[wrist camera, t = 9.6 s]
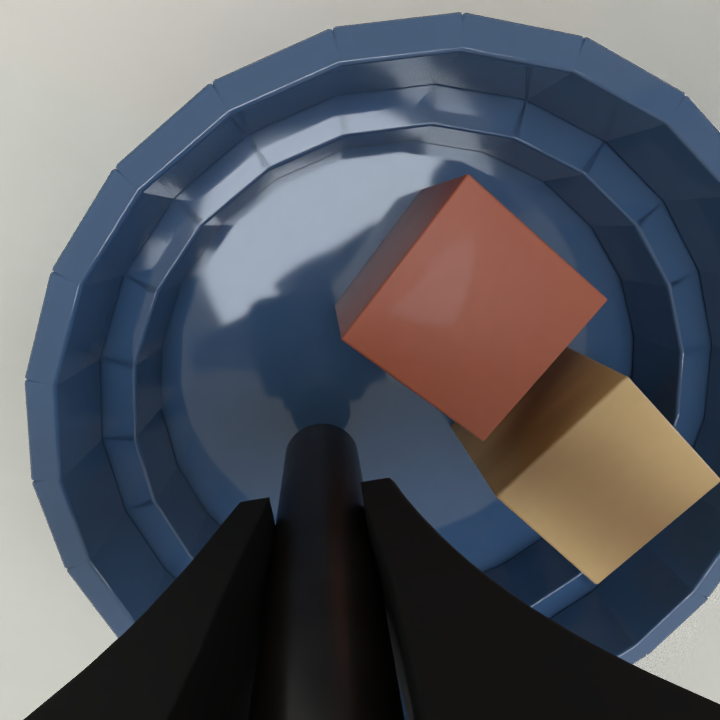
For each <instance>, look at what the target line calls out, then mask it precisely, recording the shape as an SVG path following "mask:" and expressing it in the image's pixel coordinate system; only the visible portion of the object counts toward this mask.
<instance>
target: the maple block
mask: <svg viewBox="0 0 720 720" xmlns="http://www.w3.org/2000/svg"><path fill="white" fill-rule="evenodd" d="M451 428H452V430H453V431H454V433H455V435H456V436H457V438H458V439H459V441H460V442H461V444H462V445H463V447H464V448H465V450H466V451H467V453H468V454H469V456H470V457H471V459H472V461H473V462H474V464H475V465H476V467H477V468H478V470H479V471H480V473H481V474H482V476H483V477H484V479H485V480H486V482H487V484H488V485H489V487H490V488H491V490H492V491H493V493H494V494H495V496H496V497H497V498H498V499H499V500H500V501H501V502H502V503H503V504H505V505H506V506H507V507H508V508H509V509H510V510H511V511H513V512H514V513H515V514H516V515H517V516H518V517H519V518H520V519H522V520H523V521H524V522H525V523H526V524H527V525H528V526H530V527H531V528H532V529H533V530H534V531H535V532H536V533H538V534H539V535H540V536H541V537H542V538H543V539H544V540H546V541H547V542H548V543H549V544H550V545H551V546H552V547H553V548H555V549H556V550H557V551H558V552H559V553H560V554H561V555H563V556H564V557H565V558H566V559H567V560H568V561H569V562H571V563H572V564H573V565H574V566H575V567H576V568H577V569H578V570H580V571H581V572H582V573H583V574H584V575H585V576H586V577H588V578H589V579H590V580H591V581H592V582H593V583H595V584H599V583H600V582H601V581H602V580H603V579H605V578H606V577H607V576H608V575H609V574H611V573H612V572H613V571H614V570H615V569H617V568H618V567H619V566H620V565H621V564H623V563H624V562H625V561H626V560H627V559H628V558H630V557H631V556H632V555H633V554H634V553H636V552H637V551H638V550H639V549H640V548H642V547H643V546H644V545H645V544H646V543H648V542H649V541H650V540H651V539H652V538H654V537H655V536H656V535H657V534H658V533H660V532H661V531H662V530H663V529H664V528H665V527H667V526H668V525H669V524H670V523H671V522H673V521H674V520H675V519H676V518H677V517H679V516H680V515H681V514H682V513H683V512H685V511H686V510H687V509H688V508H689V507H691V506H692V505H693V504H694V503H695V502H696V501H698V500H699V499H700V498H701V497H702V496H704V495H705V494H706V493H707V492H708V491H710V490H711V489H712V488H713V487H714V486H716V485H717V484H718V483H719V482H720V478H719V477H718V476H717V475H716V473H715V472H714V471H713V470H712V469H711V468H710V467H709V466H708V465H707V463H706V462H705V461H704V460H703V459H702V458H701V457H700V456H699V455H698V453H697V452H696V451H695V450H694V449H693V448H692V447H691V446H690V445H689V444H688V442H687V441H686V440H685V439H684V438H683V437H682V436H681V435H680V434H679V432H678V431H677V430H676V429H675V428H674V427H673V426H672V425H671V424H670V422H669V421H668V420H667V419H666V418H665V417H664V416H663V415H662V414H661V412H660V411H659V410H658V409H657V408H656V407H655V406H654V405H653V404H652V403H651V401H650V400H649V399H648V398H647V397H646V396H645V395H644V394H643V393H642V391H641V390H640V389H639V388H638V387H637V386H636V385H635V384H634V383H633V381H632V380H631V379H630V378H629V377H627V376H625V375H623V374H621V373H619V372H617V371H615V370H613V369H611V368H609V367H607V366H605V365H603V364H601V363H599V362H597V361H595V360H593V359H591V358H589V357H587V356H585V355H583V354H581V353H579V352H577V351H575V350H573V349H571V348H568V347H566V348H565V349H564V350H563V352H562V353H561V354H560V355H559V356H558V357H557V358H556V360H555V361H554V362H553V363H552V364H551V365H550V366H549V367H548V369H547V370H546V371H545V372H544V373H543V374H542V375H541V377H540V378H539V379H538V380H537V381H536V382H535V383H534V385H533V386H532V387H531V388H530V389H529V390H528V391H527V393H526V394H525V395H524V396H523V397H522V398H521V399H520V401H519V402H518V403H517V404H516V405H515V406H514V407H513V408H512V410H511V411H510V412H509V413H508V414H507V415H506V416H505V418H504V419H503V420H502V421H501V422H500V423H499V424H498V426H497V427H496V428H495V429H494V430H493V431H492V432H491V434H490V435H489V436H488V437H487V438H486V439H485V440H484V441H482V440H480V439H478V438H477V437H476V436H474V435H473V434H472V433H470V432H469V431H467V430H466V429H465V428H463V427H462V426H460V425H459V424H458V423H456V422H454V423H453V424H452V425H451Z"/></svg>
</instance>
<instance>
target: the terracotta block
mask: <svg viewBox="0 0 720 720" xmlns="http://www.w3.org/2000/svg"><path fill="white" fill-rule="evenodd" d="M606 301H607V298H606V297H605V296H604V295H603V294H601V293H600V292H599V291H598V290H597V289H596V288H595V287H594V286H593V285H591V284H590V283H589V282H588V281H587V280H586V279H585V278H584V277H583V276H581V275H580V274H579V273H578V272H577V271H576V270H575V269H574V268H573V267H571V266H570V265H569V264H568V263H567V262H566V261H565V260H564V259H563V258H561V257H560V256H559V255H558V254H557V253H556V252H555V251H554V250H553V249H552V248H550V247H549V246H548V245H547V244H546V243H545V242H544V241H543V240H542V239H540V238H539V237H538V236H537V235H536V234H535V233H534V232H533V231H532V230H530V229H529V228H528V227H527V226H526V225H525V224H524V223H523V222H522V221H520V220H519V219H518V218H517V217H516V216H515V215H514V214H513V213H512V212H510V211H509V210H508V209H507V208H506V207H505V206H504V205H503V204H502V203H500V202H499V201H498V200H497V199H496V198H495V197H494V196H493V195H492V194H491V193H489V192H488V191H487V190H486V189H485V188H484V187H483V186H482V185H481V184H479V183H478V182H477V181H476V180H475V179H474V178H473V177H472V176H471V175H469V174H466V175H463V176H460V177H457V178H454V179H451V180H449V181H446V182H443V183H440V184H437V185H434V186H431V187H428V188H425V189H422V190H421V191H420V193H419V194H418V195H417V197H416V198H415V199H414V201H413V202H412V203H411V205H410V206H409V207H408V209H407V210H406V211H405V213H404V214H403V215H402V217H401V218H400V219H399V221H398V222H397V223H396V225H395V226H394V227H393V229H392V230H391V231H390V233H389V234H388V235H387V237H386V238H385V239H384V241H383V242H382V243H381V245H380V246H379V247H378V249H377V250H376V251H375V253H374V254H373V255H372V257H371V258H370V259H369V261H368V262H367V263H366V264H365V266H364V267H363V268H362V270H361V271H360V272H359V274H358V275H357V276H356V278H355V279H354V280H353V282H352V283H351V284H350V286H349V287H348V288H347V290H346V291H345V292H344V294H343V295H342V296H341V298H340V299H339V300H338V302H337V303H336V304H335V309H336V314H337V319H338V324H339V329H340V334H341V339H342V341H344V342H345V343H347V344H348V345H349V346H351V347H352V348H354V349H355V350H356V351H358V352H359V353H360V354H362V355H363V356H365V357H366V358H367V359H369V360H370V361H372V362H373V363H374V364H376V365H377V366H378V367H380V368H381V369H383V370H384V371H385V372H387V373H388V374H390V375H391V376H392V377H394V378H395V379H397V380H398V381H399V382H401V383H402V384H403V385H405V386H406V387H408V388H409V389H410V390H412V391H413V392H415V393H416V394H417V395H419V396H420V397H422V398H423V399H424V400H426V401H427V402H428V403H430V404H431V405H433V406H434V407H435V408H437V409H438V410H440V411H441V412H442V413H444V414H445V415H447V416H448V417H449V418H451V419H452V420H453V421H455V422H456V423H458V424H459V425H460V426H462V427H463V428H465V429H466V430H467V431H469V432H470V433H472V434H473V435H474V436H476V437H477V438H478V439H480V440H482V441H484V440H485V439H486V438H487V437H488V436H489V435H490V434H491V432H492V431H493V430H494V429H495V428H496V427H497V426H498V424H499V423H500V422H501V421H502V420H503V419H504V418H505V416H506V415H507V414H508V413H509V412H510V411H511V410H512V408H513V407H514V406H515V405H516V404H517V403H518V402H519V401H520V399H521V398H522V397H523V396H524V395H525V394H526V393H527V391H528V390H529V389H530V388H531V387H532V386H533V385H534V383H535V382H536V381H537V380H538V379H539V378H540V377H541V375H542V374H543V373H544V372H545V371H546V370H547V369H548V367H549V366H550V365H551V364H552V363H553V362H554V361H555V360H556V358H557V357H558V356H559V355H560V354H561V353H562V352H563V350H564V349H565V348H566V347H567V346H568V345H569V344H570V342H571V341H572V340H573V339H574V338H575V337H576V336H577V334H578V333H579V332H580V331H581V330H582V329H583V328H584V326H585V325H586V324H587V323H588V322H589V321H590V320H591V319H592V317H593V316H594V315H595V314H596V313H597V312H598V311H599V309H600V308H601V307H602V306H603V305H604V304H605V303H606Z"/></svg>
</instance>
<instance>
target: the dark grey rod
mask: <svg viewBox="0 0 720 720" xmlns="http://www.w3.org/2000/svg"><path fill="white" fill-rule="evenodd" d="M360 482H363V478H362V473H361V467H360V461H359V456H358V450H357V446H356V444H355V442H354V440H353V438H352V437H351V436H350V435H349V434H348V433H347V432H346V431H345V430H343V429H341V428H340V427H337V426H335V425H331V424H314V425H310V426H307V427H305V428H303V429H302V430H300V431H299V432H297V433H296V434H295V435H294V436H293V437H292V439H291V440H290V442H289V444H288V446H287V449H286V454H285V461H284V468H283V475H282V482H281V489H280V497H279V504H278V511H277V518H276V525H275V532H274V540H273V547H272V554H271V561H270V568H269V575H268V582H267V589H266V596H265V603H264V610H263V617H262V624H261V631H260V639H259V646H258V653H257V660H256V667H255V674H254V681H253V688H252V695H251V702H250V709H249V717H248V720H405V718H404V713H403V707H402V701H401V696H400V690H399V684H398V678H397V673H396V667H395V661H394V656H393V650H392V644H391V638H390V633H389V627H388V621H387V616H386V610H385V604H384V598H383V593H382V587H381V583H380V578H379V574H378V570H377V566H376V562H375V558H374V554H373V551H372V547H371V543H370V539H369V534H368V528H367V521H366V515H365V509H364V503H363V496H362V489H361V483H360Z"/></svg>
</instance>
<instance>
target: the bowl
mask: <svg viewBox="0 0 720 720" xmlns="http://www.w3.org/2000/svg"><path fill="white" fill-rule="evenodd" d="M684 95H685V94H684V92H682V91H680V90H678V89H677V88H675V87H673V86H671V85H670V84H668V83H666V82H664V81H663V80H661V79H659V78H657V77H656V76H654V75H652V74H650V73H649V72H647V71H645V70H643V69H642V68H640V67H638V66H636V65H635V64H633V63H631V62H629V61H628V60H626V59H624V58H622V57H621V56H619V55H617V54H615V53H614V52H612V51H610V50H608V49H607V48H605V47H603V46H602V45H600V44H598V43H596V42H595V41H593V40H591V39H589V38H584V39H583V37H582V36H579V35H574V34H569V33H564V32H559V31H554V30H549V29H544V28H539V27H534V26H529V25H524V24H519V23H514V22H509V21H504V20H499V19H494V18H489V17H484V16H479V15H474V14H469V13H464V14H463V15H462V13H459V12H457V13H449V14H440V15H432V16H423V17H415V18H406V19H397V20H389V21H380V22H372V23H363V24H355V25H346V26H337V27H335V28H333V31H332V30H331V29H327V30H325V31H323V32H321V33H318V34H316V35H314V36H312V37H309V38H307V39H305V40H303V41H301V42H298V43H296V44H294V45H292V46H289V47H287V48H285V49H283V50H280V51H278V52H276V53H274V54H271V55H269V56H267V57H265V58H263V59H260V60H258V61H256V62H254V63H251V64H249V65H247V66H245V67H242V68H240V69H238V70H236V71H234V72H231V73H229V74H227V75H225V76H222V77H220V78H218V79H216V80H214V81H213V85H212V84H208V85H207V86H205V87H204V88H203V89H202V90H201V91H200V92H199V93H197V94H196V95H195V96H194V97H193V98H192V99H191V100H190V101H188V102H187V103H186V104H185V105H184V106H183V107H182V108H180V109H179V110H178V111H177V112H176V113H175V114H174V115H172V116H171V117H170V118H169V119H168V120H167V121H166V122H165V123H163V124H162V125H161V126H160V127H159V128H158V129H157V130H155V131H154V132H153V133H152V134H151V135H150V136H149V137H148V138H146V139H145V140H144V141H143V142H142V143H141V144H140V145H138V146H137V147H136V148H135V149H134V150H133V151H132V152H130V153H129V154H128V155H127V156H126V157H125V158H124V159H123V160H121V161H120V162H119V163H118V164H117V166H116V169H113V170H112V171H111V173H110V175H109V176H108V178H107V180H106V181H105V183H104V184H103V186H102V188H101V189H100V191H99V193H98V194H97V196H96V198H95V199H94V201H93V203H92V204H91V206H90V208H89V209H88V211H87V212H86V214H85V216H84V217H83V219H82V221H81V222H80V224H79V226H78V227H77V229H76V231H75V232H74V234H73V236H72V237H71V239H70V240H69V242H68V244H67V245H66V247H65V249H64V250H63V252H62V254H61V255H60V257H59V259H58V260H57V262H56V264H55V265H54V267H53V271H54V272H52V273H51V274H50V277H49V281H48V285H47V290H46V294H45V298H44V302H43V306H42V310H41V314H40V318H39V323H38V327H37V331H36V335H35V339H34V343H33V347H32V351H31V355H30V360H29V364H28V368H27V372H26V376H25V377H26V379H27V380H26V381H25V392H26V406H27V421H28V435H29V450H30V464H31V478H32V480H34V481H33V486H34V489H35V492H36V494H37V497H38V499H39V502H40V505H41V507H42V510H43V512H44V515H45V517H46V520H47V523H48V525H49V528H50V530H51V533H52V536H53V538H54V541H55V543H56V546H57V549H58V551H59V554H60V556H61V559H62V561H63V564H64V567H65V568H67V572H68V573H69V575H70V576H71V577H72V578H73V580H74V581H75V582H76V584H77V585H78V586H79V588H80V589H81V590H82V592H83V593H84V594H85V595H86V597H87V598H88V599H89V601H90V602H91V603H92V605H93V606H94V607H95V609H96V610H97V611H98V613H99V614H100V615H101V616H102V618H103V619H104V620H105V622H106V623H107V624H108V626H109V627H110V628H111V630H112V631H113V632H114V634H115V635H116V636H117V637H118V638H119V637H120V636H121V635H122V634H123V633H125V632H126V631H127V630H128V629H129V628H130V627H131V626H132V625H133V624H134V623H135V622H136V621H137V620H138V619H139V618H140V617H141V616H142V615H143V614H144V613H145V612H146V611H147V610H148V609H149V608H150V606H151V605H152V604H153V603H154V602H155V601H156V600H157V599H158V598H159V597H160V596H161V594H162V593H163V592H164V591H165V590H166V589H167V588H168V587H169V586H170V585H171V584H172V583H173V581H174V580H175V579H176V578H177V577H178V576H179V575H180V574H181V573H182V572H183V571H184V569H185V568H186V567H187V566H188V565H189V564H190V562H191V561H192V560H193V559H194V558H195V556H196V555H197V554H198V553H199V552H200V551H201V549H202V548H203V547H204V546H205V545H206V543H207V542H208V541H209V540H210V538H211V537H212V536H213V535H214V533H215V532H216V531H217V530H218V529H219V527H220V526H221V525H222V524H223V522H224V521H225V520H226V519H227V517H228V516H229V515H230V514H231V512H232V511H233V510H234V509H235V507H236V506H237V505H238V504H239V503H240V502H243V501H249V500H255V499H261V498H267V497H269V498H270V503H271V507H272V512H273V517H274V521H275V525H276V518H277V511H278V504H279V497H280V489H281V482H282V475H283V468H284V461H285V454H286V449H287V446H288V444H289V442H290V440H291V439H292V437H293V436H294V435H295V434H296V433H297V432H299V431H300V430H302V429H303V428H305V427H307V426H310V425H314V424H331V425H335V426H337V427H340V428H341V429H343V430H345V431H346V432H347V433H348V434H349V435H350V436H351V437H352V438H353V440H354V442H355V444H356V446H357V450H358V456H359V461H360V467H361V473H362V478H363V482H364V481H371V480H377V479H383V478H390V479H392V480H393V481H394V482H395V483H396V485H397V486H398V487H399V489H400V490H401V492H402V493H403V494H404V495H405V497H406V498H407V499H408V500H409V502H410V503H411V504H412V505H413V506H414V507H415V509H416V510H417V511H418V512H419V513H420V514H421V515H422V516H423V517H424V519H425V520H426V521H427V522H428V523H429V524H430V525H431V526H432V527H433V528H434V529H435V530H436V531H437V532H438V533H439V534H440V535H441V536H442V537H443V538H444V539H445V540H446V541H447V542H449V543H450V544H451V545H452V546H453V547H454V548H455V549H456V550H457V551H458V552H460V553H461V554H462V555H463V556H464V557H465V558H466V559H467V560H469V561H470V562H471V563H472V564H473V565H475V566H476V567H477V568H478V569H479V570H481V571H482V572H483V573H484V574H486V575H487V576H488V577H489V578H491V579H492V580H493V581H495V582H496V583H498V584H499V585H500V586H502V587H503V588H504V589H506V590H507V591H508V592H510V593H511V594H512V595H514V596H515V597H517V598H518V599H520V600H521V601H523V602H524V603H526V604H527V605H529V606H530V607H531V608H533V609H535V610H536V611H538V612H540V613H541V614H543V615H545V616H546V617H548V618H550V619H551V620H553V621H555V622H556V623H558V624H559V625H561V626H563V627H564V628H566V629H568V630H569V631H571V632H573V633H574V634H576V635H578V636H580V637H581V638H583V639H585V640H587V641H588V642H590V643H592V644H594V645H596V646H598V647H600V648H602V649H604V650H605V651H607V652H609V653H611V654H613V655H615V656H617V657H619V658H621V659H623V660H625V661H627V662H629V663H631V664H634V663H635V662H637V661H639V660H640V659H642V658H643V657H645V656H646V654H647V655H648V654H650V653H651V652H652V651H653V650H654V649H655V648H656V647H657V646H658V645H659V644H660V643H661V642H663V641H664V640H665V639H666V638H667V637H668V636H669V635H670V634H671V633H672V632H673V631H674V630H675V629H677V628H678V627H679V626H680V625H681V624H682V623H683V622H684V621H685V620H686V619H687V618H688V617H689V616H691V615H692V614H693V613H694V612H695V611H696V610H697V609H698V608H699V607H700V606H701V605H702V604H703V603H705V602H706V601H707V599H708V598H707V597H709V596H710V595H711V594H712V592H713V591H714V590H715V588H716V587H717V585H718V584H719V583H720V482H719V483H718V484H717V485H716V486H714V487H713V488H712V489H711V490H710V491H708V492H707V493H706V494H705V495H704V496H702V497H701V498H700V499H699V500H698V501H696V502H695V503H694V504H693V505H692V506H691V507H689V508H688V509H687V510H686V511H685V512H683V513H682V514H681V515H680V516H679V517H677V518H676V519H675V520H674V521H673V522H671V523H670V524H669V525H668V526H667V527H665V528H664V529H663V530H662V531H661V532H660V533H658V534H657V535H656V536H655V537H654V538H652V539H651V540H650V541H649V542H648V543H646V544H645V545H644V546H643V547H642V548H640V549H639V550H638V551H637V552H636V553H634V554H633V555H632V556H631V557H630V558H628V559H627V560H626V561H625V562H624V563H623V564H621V565H620V566H619V567H618V568H617V569H615V570H614V571H613V572H612V573H611V574H609V575H608V576H607V577H606V578H605V579H603V580H602V581H601V582H600V583H599V584H595V583H593V582H592V581H591V580H590V579H589V578H588V577H586V576H585V575H584V574H583V573H582V572H581V571H580V570H578V569H577V568H576V567H575V566H574V565H573V564H572V563H571V562H569V561H568V560H567V559H566V558H565V557H564V556H563V555H561V554H560V553H559V552H558V551H557V550H556V549H555V548H553V547H552V546H551V545H550V544H549V543H548V542H547V541H546V540H544V539H543V538H542V537H541V536H540V535H539V534H538V533H536V532H535V531H534V530H533V529H532V528H531V527H530V526H528V525H527V524H526V523H525V522H524V521H523V520H522V519H520V518H519V517H518V516H517V515H516V514H515V513H514V512H513V511H511V510H510V509H509V508H508V507H507V506H506V505H505V504H503V503H502V502H501V501H500V500H499V499H498V498H497V497H496V496H495V494H494V493H493V491H492V490H491V488H490V487H489V485H488V484H487V482H486V480H485V479H484V477H483V476H482V474H481V473H480V471H479V470H478V468H477V467H476V465H475V464H474V462H473V461H472V459H471V457H470V456H469V454H468V453H467V451H466V450H465V448H464V447H463V445H462V444H461V442H460V441H459V439H458V438H457V436H456V435H455V433H454V431H453V430H452V428H451V425H452V424H453V423H454V422H455V421H453V420H452V419H451V418H449V417H448V416H447V415H445V414H444V413H442V412H441V411H440V410H438V409H437V408H435V407H434V406H433V405H431V404H430V403H428V402H427V401H426V400H424V399H423V398H422V397H420V396H419V395H417V394H416V393H415V392H413V391H412V390H410V389H409V388H408V387H406V386H405V385H403V384H402V383H401V382H399V381H398V380H397V379H395V378H394V377H392V376H391V375H390V374H388V373H387V372H385V371H384V370H383V369H381V368H380V367H378V366H377V365H376V364H374V363H373V362H372V361H370V360H369V359H367V358H366V357H365V356H363V355H362V354H360V353H359V352H358V351H356V350H355V349H354V348H352V347H351V346H349V345H348V344H347V343H345V342H344V341H342V339H341V334H340V329H339V324H338V319H337V314H336V309H335V304H336V303H337V302H338V300H339V299H340V298H341V296H342V295H343V294H344V292H345V291H346V290H347V288H348V287H349V286H350V284H351V283H352V282H353V280H354V279H355V278H356V276H357V275H358V274H359V272H360V271H361V270H362V268H363V267H364V266H365V264H366V263H367V262H368V261H369V259H370V258H371V257H372V255H373V254H374V253H375V251H376V250H377V249H378V247H379V246H380V245H381V243H382V242H383V241H384V239H385V238H386V237H387V235H388V234H389V233H390V231H391V230H392V229H393V227H394V226H395V225H396V223H397V222H398V221H399V219H400V218H401V217H402V215H403V214H404V213H405V211H406V210H407V209H408V207H409V206H410V205H411V203H412V202H413V201H414V199H415V198H416V197H417V195H418V194H419V193H420V191H421V190H422V189H425V188H428V187H431V186H434V185H437V184H440V183H443V182H446V181H449V180H451V179H454V178H457V177H460V176H463V175H466V174H469V175H471V176H472V177H473V178H474V179H475V180H476V181H477V182H478V183H479V184H481V185H482V186H483V187H484V188H485V189H486V190H487V191H488V192H489V193H491V194H492V195H493V196H494V197H495V198H496V199H497V200H498V201H499V202H500V203H502V204H503V205H504V206H505V207H506V208H507V209H508V210H509V211H510V212H512V213H513V214H514V215H515V216H516V217H517V218H518V219H519V220H520V221H522V222H523V223H524V224H525V225H526V226H527V227H528V228H529V229H530V230H532V231H533V232H534V233H535V234H536V235H537V236H538V237H539V238H540V239H542V240H543V241H544V242H545V243H546V244H547V245H548V246H549V247H550V248H552V249H553V250H554V251H555V252H556V253H557V254H558V255H559V256H560V257H561V258H563V259H564V260H565V261H566V262H567V263H568V264H569V265H570V266H571V267H573V268H574V269H575V270H576V271H577V272H578V273H579V274H580V275H581V276H583V277H584V278H585V279H586V280H587V281H588V282H589V283H590V284H591V285H593V286H594V287H595V288H596V289H597V290H598V291H599V292H600V293H601V294H603V295H604V296H605V297H606V298H607V301H606V303H605V304H604V305H603V306H602V307H601V308H600V309H599V311H598V312H597V313H596V314H595V315H594V316H593V317H592V319H591V320H590V321H589V322H588V323H587V324H586V325H585V326H584V328H583V329H582V330H581V331H580V332H579V333H578V334H577V336H576V337H575V338H574V339H573V340H572V341H571V342H570V344H569V345H568V346H567V347H568V348H571V349H573V350H575V351H577V352H579V353H581V354H583V355H585V356H587V357H589V358H591V359H593V360H595V361H597V362H599V363H601V364H603V365H605V366H607V367H609V368H611V369H613V370H615V371H617V372H619V373H621V374H623V375H625V376H627V377H629V378H630V379H631V380H632V381H633V383H634V384H635V385H636V386H637V387H638V388H639V389H640V390H641V391H642V393H643V394H644V395H645V396H646V397H647V398H648V399H649V400H650V401H651V403H652V404H653V405H654V406H655V407H656V408H657V409H658V410H659V411H660V412H661V414H662V415H663V416H664V417H665V418H666V419H667V420H668V421H669V422H670V424H671V425H672V426H673V427H674V428H675V429H676V430H677V431H678V432H679V434H680V435H681V436H682V437H683V438H684V439H685V440H686V441H687V442H688V444H689V445H690V446H691V447H692V448H693V449H694V450H695V451H696V452H697V453H698V455H699V456H700V457H701V458H702V459H703V460H704V461H705V462H706V463H707V465H708V466H709V467H710V468H711V469H712V470H713V471H714V472H715V473H716V475H717V476H718V477H719V478H720V133H719V131H718V130H717V129H716V128H715V127H714V126H713V125H712V124H711V122H710V121H709V120H708V119H707V118H706V117H705V116H704V114H703V113H702V112H701V111H700V110H699V109H698V108H697V107H696V105H695V104H694V103H693V102H692V101H691V100H690V99H689V98H688V97H687V96H684ZM397 678H398V677H397ZM398 684H399V681H398ZM399 690H400V696H401V701H402V707H403V713H404V718H405V720H408V716H407V712H406V708H405V704H404V700H403V697H402V693H401V689H400V685H399Z"/></svg>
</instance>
